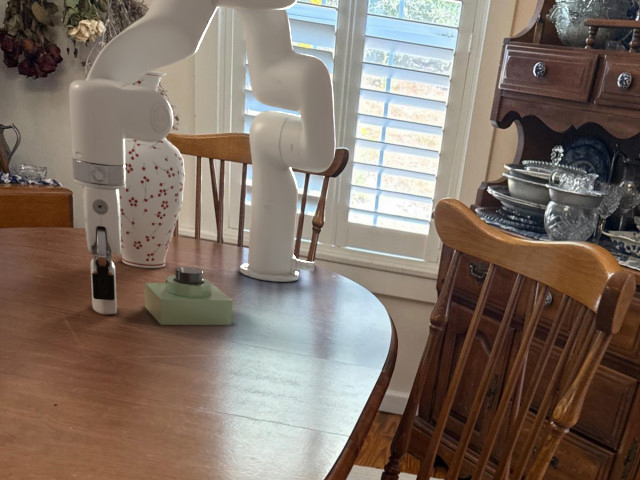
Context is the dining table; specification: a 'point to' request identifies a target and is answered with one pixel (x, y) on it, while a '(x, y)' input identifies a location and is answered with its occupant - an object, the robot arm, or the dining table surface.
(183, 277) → the dark grey button cap
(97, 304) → the eye dropper bottle
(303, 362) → the dining table surface
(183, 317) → the button base
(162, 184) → the vase
